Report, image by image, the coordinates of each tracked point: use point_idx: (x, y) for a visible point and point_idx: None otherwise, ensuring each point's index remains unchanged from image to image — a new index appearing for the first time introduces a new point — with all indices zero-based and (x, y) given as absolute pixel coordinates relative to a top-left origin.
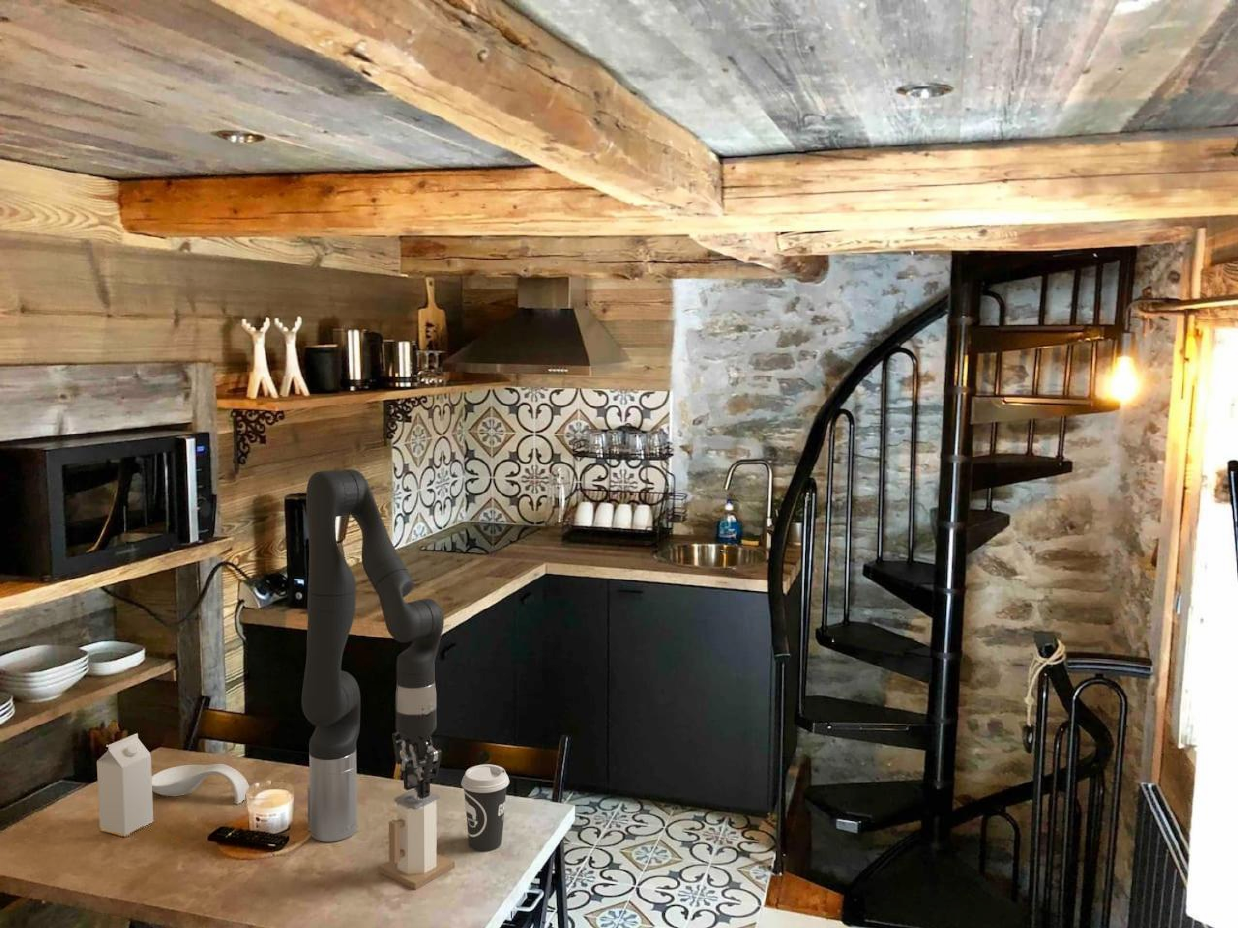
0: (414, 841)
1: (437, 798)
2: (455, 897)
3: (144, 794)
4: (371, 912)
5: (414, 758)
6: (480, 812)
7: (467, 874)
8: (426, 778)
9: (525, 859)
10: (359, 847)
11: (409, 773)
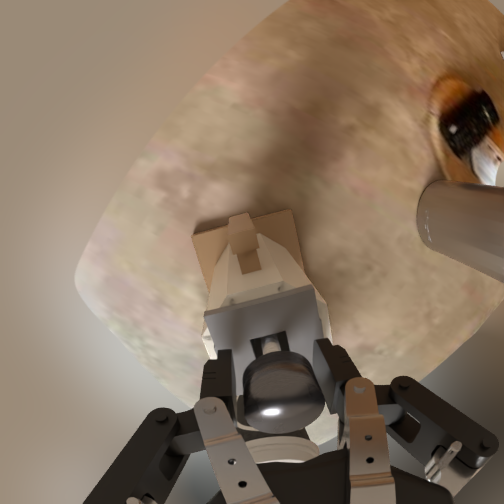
0: (221, 272)
1: None
2: (134, 275)
3: None
4: (172, 139)
5: (232, 477)
6: (239, 415)
7: (188, 323)
8: (149, 415)
9: (183, 395)
10: (384, 222)
11: (304, 390)
